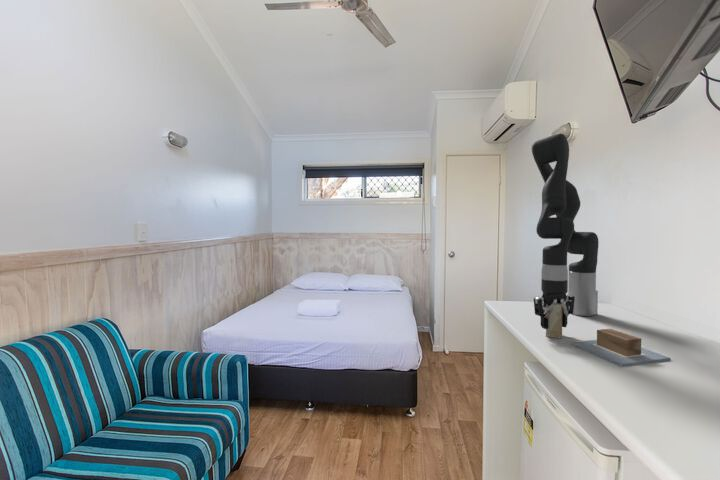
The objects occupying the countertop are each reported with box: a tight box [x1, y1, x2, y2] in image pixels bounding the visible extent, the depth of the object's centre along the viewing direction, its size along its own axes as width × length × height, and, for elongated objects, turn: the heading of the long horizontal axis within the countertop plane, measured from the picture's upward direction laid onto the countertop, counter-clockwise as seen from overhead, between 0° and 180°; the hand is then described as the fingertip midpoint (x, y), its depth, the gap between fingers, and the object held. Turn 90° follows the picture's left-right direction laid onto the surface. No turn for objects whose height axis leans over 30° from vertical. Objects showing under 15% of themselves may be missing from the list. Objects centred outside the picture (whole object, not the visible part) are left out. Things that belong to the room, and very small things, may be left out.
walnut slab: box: [596, 328, 642, 356], centre depth 95 cm, size 5×9×4 cm, turn 11°
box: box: [545, 303, 563, 339], centre depth 109 cm, size 5×4×11 cm
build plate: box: [570, 339, 672, 367], centre depth 95 cm, size 16×16×1 cm
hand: (553, 327), depth 109 cm, fingers closed on box, 6 cm apart
